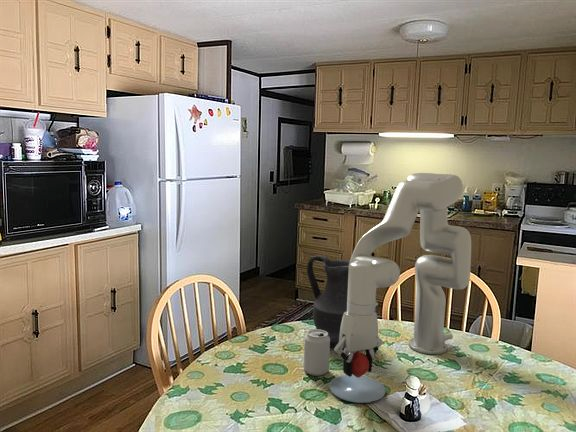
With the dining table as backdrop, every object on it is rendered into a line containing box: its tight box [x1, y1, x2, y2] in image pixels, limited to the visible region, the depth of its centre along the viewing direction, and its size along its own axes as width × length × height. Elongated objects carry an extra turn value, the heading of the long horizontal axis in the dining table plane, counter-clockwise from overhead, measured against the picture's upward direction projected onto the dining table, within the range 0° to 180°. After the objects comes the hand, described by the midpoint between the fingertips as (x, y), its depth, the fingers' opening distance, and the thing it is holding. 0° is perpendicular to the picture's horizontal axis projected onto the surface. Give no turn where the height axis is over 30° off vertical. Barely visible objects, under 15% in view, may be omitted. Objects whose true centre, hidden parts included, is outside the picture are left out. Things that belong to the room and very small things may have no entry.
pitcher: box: [306, 254, 350, 351], centre depth 162 cm, size 17×21×30 cm
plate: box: [329, 374, 386, 404], centre depth 131 cm, size 15×15×1 cm
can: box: [303, 328, 331, 377], centre depth 141 cm, size 8×8×12 cm
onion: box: [351, 350, 369, 378], centre depth 130 cm, size 6×6×8 cm
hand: (357, 371), depth 130 cm, fingers closed on onion, 5 cm apart
